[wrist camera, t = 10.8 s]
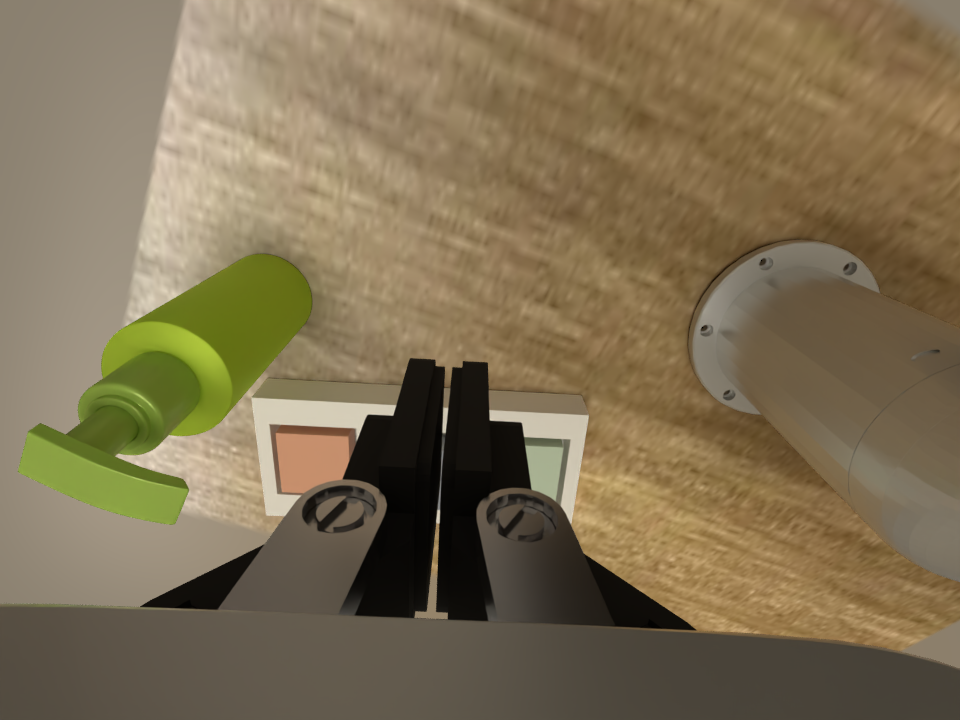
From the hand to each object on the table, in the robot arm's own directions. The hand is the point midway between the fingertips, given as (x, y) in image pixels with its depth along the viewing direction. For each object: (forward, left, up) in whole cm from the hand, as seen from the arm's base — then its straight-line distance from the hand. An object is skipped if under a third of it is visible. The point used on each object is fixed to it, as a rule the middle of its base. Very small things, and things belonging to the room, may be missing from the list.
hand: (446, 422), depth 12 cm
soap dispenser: (+13, +6, -25) cm, 29 cm away
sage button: (-5, +17, -24) cm, 30 cm away
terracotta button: (+10, +17, -24) cm, 31 cm away
